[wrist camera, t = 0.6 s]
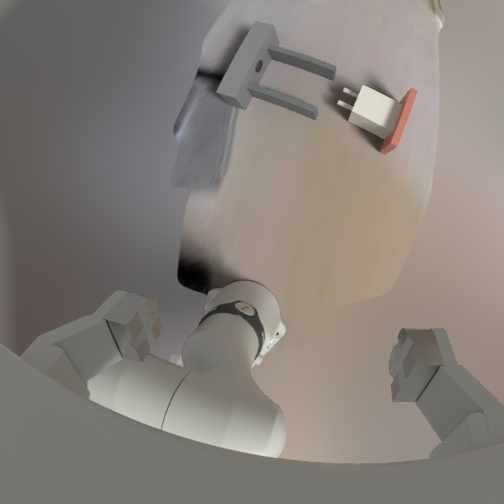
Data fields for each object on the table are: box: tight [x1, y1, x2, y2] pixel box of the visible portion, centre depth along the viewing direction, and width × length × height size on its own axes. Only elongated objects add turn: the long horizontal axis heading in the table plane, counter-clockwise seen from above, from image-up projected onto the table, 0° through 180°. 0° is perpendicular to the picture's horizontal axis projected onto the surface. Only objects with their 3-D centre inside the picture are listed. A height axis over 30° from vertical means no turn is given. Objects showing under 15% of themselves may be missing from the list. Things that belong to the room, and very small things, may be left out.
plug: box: [337, 85, 417, 154], centre depth 44 cm, size 12×12×10 cm
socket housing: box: [216, 21, 336, 120], centre depth 47 cm, size 18×18×8 cm
